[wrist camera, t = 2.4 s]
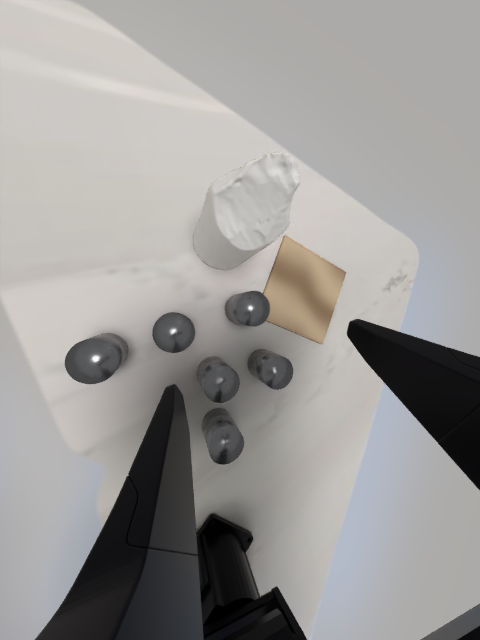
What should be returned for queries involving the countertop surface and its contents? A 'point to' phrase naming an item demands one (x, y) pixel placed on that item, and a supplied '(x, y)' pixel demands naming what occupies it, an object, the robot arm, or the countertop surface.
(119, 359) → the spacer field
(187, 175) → the countertop surface
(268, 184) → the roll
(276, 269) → the mat
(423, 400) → the robot arm
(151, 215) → the countertop surface
